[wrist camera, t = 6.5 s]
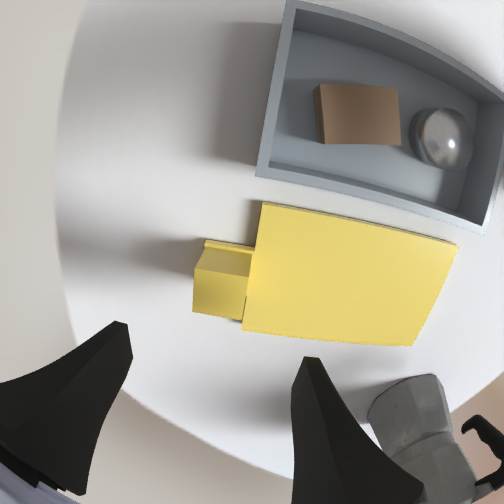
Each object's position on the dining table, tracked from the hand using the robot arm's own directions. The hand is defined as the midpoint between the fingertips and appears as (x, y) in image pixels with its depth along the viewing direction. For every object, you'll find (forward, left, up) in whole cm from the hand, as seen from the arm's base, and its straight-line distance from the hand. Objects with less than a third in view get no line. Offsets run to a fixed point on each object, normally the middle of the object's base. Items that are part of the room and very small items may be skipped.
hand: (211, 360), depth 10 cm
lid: (-7, 0, -9) cm, 11 cm away
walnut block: (-5, -10, -8) cm, 14 cm away
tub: (-7, -11, -8) cm, 16 cm away
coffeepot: (-20, +12, -9) cm, 25 cm away
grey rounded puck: (-10, -11, -8) cm, 17 cm away
